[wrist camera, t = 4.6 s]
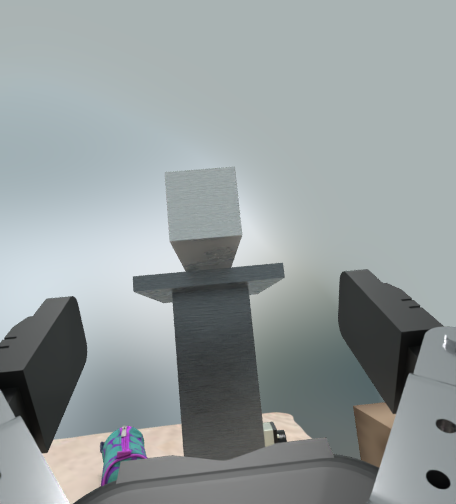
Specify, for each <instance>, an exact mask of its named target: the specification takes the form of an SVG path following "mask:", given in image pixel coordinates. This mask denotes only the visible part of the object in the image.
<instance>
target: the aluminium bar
mask: <svg viewBox="0 0 456 504" xmlns="http://www.w3.org/2000/svg"><path fill="white" fill-rule="evenodd" d="M165 182H166V183H165V184H166V196H167V211H168V224H169V238H170V242H171V245H172V246H173V248H174V250H175V252H176V254H177V256H178V258H179V259H180V261H181V263H182V265H183V267H184V269H185V271H186V272H188V271H199V270H210V269H221V268H231V266H232V263H233V260H234V257H235V254H236V251H237V248H238V246H239V243H240V240H241V237H242V229H241V220H240V210H239V201H238V191H237V183H236V172H235V167H226V168H215V169H201V170H189V171H175V172H165Z"/></svg>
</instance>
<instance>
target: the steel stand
mask: <svg viewBox="0 0 456 504" xmlns="http://www.w3.org/2000/svg"><path fill="white" fill-rule="evenodd" d="M283 278H284V269H283V263H276V264H265V265H254V266H244V267H232V268H221V269H210V270H199V271H188V272H177V273H167V274H156V275H145V276H134V277H133V290H134V292H136V293H138V294H141V295H144V296H146V297H149V298H151V299H154V300H157V301H160V302H162V303H170V302H173V313H174V327H175V341H176V354H177V368H178V382H179V396H180V409H181V422H182V437H183V450H184V457H192V458H201V459H211V460H221V461H225V460H230V459H233V458H236V457H239V456H242V455H245V454H248V453H250V452H253V451H256V450H259V449H262V448H265V440H264V430H263V421H262V412H261V403H260V394H259V384H258V375H257V365H256V355H255V346H254V337H253V327H252V319H251V308H250V299H249V295H252V294H259V293H260V292H262V291H263V290H265V289H267V288H268V287H270V286H272V285H273V284H275V283H277V282H278V281H280V280H282V279H283Z"/></svg>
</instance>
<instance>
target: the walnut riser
mask: <svg viewBox="0 0 456 504" xmlns="http://www.w3.org/2000/svg"><path fill="white" fill-rule="evenodd" d="M353 408H354V416H355V423H356V429H357V436H358V443H359V450H360V457H361V460H362V461H365V462H367V463H370V464H372V465H375V466H377V467H379V468H380V465H381V461H382V458H383V455H384V452H385V448H386V445H387V442H388V439H389V436H390V432H391V429H392V426H393V423H394V419H395V416H396V414H392V412H391V410H390V409H389V407H388V406H387V404H386V403H376V404H367V405H357V406H353Z"/></svg>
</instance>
